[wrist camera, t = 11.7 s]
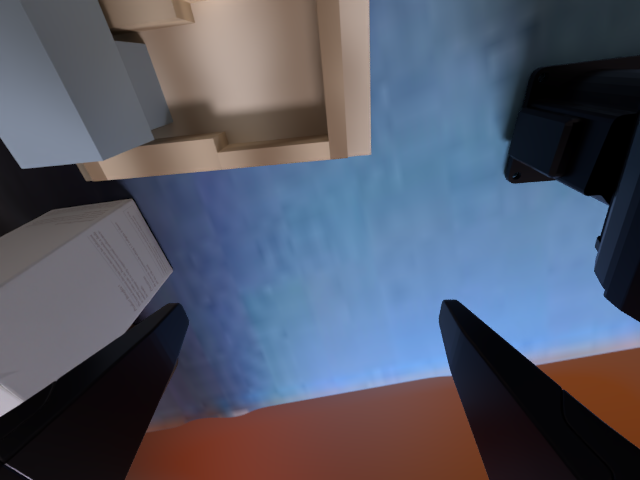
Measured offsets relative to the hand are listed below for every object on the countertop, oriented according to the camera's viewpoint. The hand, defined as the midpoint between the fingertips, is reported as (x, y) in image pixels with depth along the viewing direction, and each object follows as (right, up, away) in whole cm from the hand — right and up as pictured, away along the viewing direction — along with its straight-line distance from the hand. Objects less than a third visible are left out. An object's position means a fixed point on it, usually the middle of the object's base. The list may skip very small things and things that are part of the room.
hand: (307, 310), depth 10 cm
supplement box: (-17, +2, +14) cm, 22 cm away
